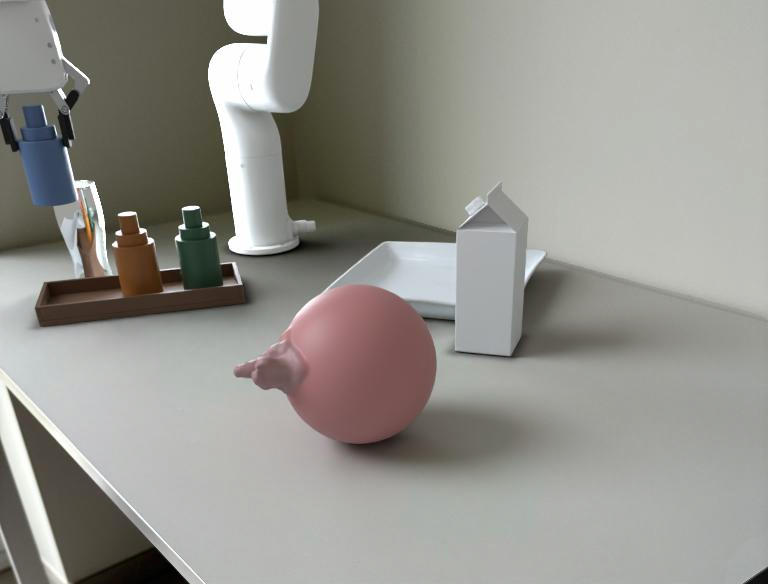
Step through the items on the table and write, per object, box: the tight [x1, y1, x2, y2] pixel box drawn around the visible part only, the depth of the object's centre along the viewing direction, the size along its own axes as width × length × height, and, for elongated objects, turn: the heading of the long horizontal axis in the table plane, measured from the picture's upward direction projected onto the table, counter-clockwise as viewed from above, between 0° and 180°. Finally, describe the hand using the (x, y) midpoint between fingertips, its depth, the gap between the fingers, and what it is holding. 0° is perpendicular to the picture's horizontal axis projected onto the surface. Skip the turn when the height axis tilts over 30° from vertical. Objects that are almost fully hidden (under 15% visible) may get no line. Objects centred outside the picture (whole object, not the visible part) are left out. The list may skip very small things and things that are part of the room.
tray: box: [34, 261, 246, 327], centre depth 120 cm, size 29×12×3 cm, turn 104°
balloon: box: [232, 284, 438, 445], centre depth 78 cm, size 15×20×15 cm
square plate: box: [320, 240, 548, 321], centre depth 118 cm, size 27×27×4 cm
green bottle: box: [174, 205, 224, 290], centre depth 119 cm, size 6×6×12 cm
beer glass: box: [52, 179, 114, 279], centre depth 126 cm, size 7×7×15 cm
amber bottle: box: [111, 211, 164, 297], centre depth 117 cm, size 6×6×12 cm
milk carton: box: [454, 180, 529, 357], centre depth 97 cm, size 7×7×19 cm
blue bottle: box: [17, 103, 78, 207], centre depth 108 cm, size 6×6×12 cm
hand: (42, 147), depth 107 cm, fingers closed on blue bottle, 6 cm apart
